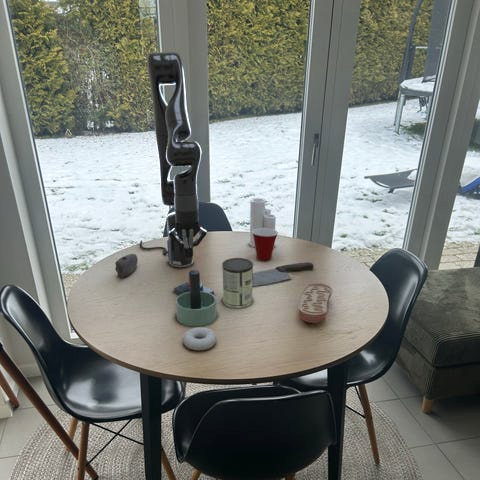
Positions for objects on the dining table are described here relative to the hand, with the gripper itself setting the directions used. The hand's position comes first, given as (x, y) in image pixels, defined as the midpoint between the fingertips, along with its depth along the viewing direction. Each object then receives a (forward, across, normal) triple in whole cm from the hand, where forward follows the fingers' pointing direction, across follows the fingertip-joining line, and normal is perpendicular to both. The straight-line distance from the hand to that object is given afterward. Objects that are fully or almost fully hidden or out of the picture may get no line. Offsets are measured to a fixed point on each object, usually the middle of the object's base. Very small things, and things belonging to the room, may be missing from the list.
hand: (189, 257), depth 160 cm
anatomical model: (+15, +41, -15) cm, 46 cm away
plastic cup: (+15, +30, +31) cm, 46 cm away
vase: (+15, +32, +47) cm, 59 cm away
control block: (+14, +1, +1) cm, 15 cm away
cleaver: (+15, +35, +14) cm, 40 cm away
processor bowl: (+14, +2, -15) cm, 21 cm away
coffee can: (+15, +16, -6) cm, 22 cm away
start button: (+11, +1, +1) cm, 11 cm away
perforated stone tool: (+15, -24, +22) cm, 36 cm away
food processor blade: (+14, +2, -15) cm, 21 cm away
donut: (+15, +2, -32) cm, 35 cm away
